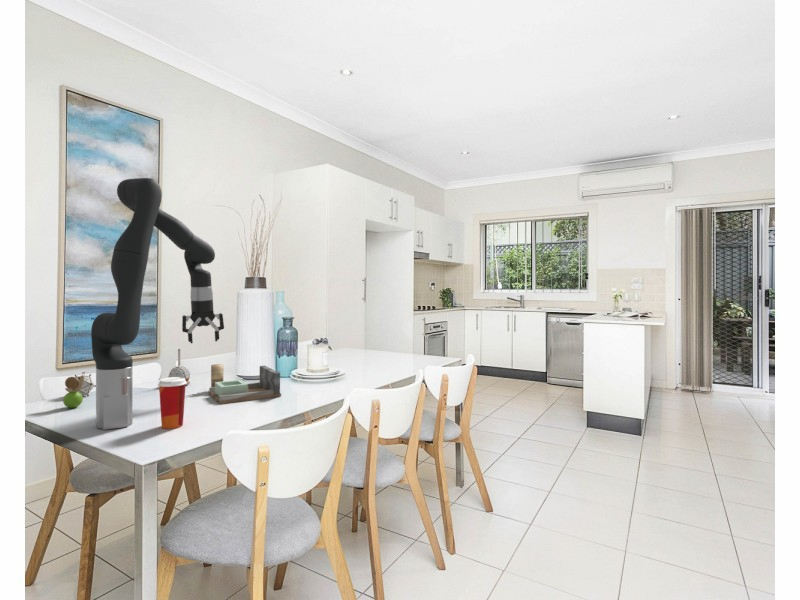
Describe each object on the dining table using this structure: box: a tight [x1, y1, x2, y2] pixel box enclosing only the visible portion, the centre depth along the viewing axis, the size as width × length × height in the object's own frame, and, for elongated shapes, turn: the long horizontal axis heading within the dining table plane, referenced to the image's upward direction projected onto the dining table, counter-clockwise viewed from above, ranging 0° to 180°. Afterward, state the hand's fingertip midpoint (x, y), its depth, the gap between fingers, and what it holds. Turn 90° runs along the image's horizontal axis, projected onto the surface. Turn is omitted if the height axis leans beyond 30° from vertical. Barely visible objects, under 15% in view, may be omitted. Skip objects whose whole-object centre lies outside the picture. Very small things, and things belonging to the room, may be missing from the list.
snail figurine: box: [62, 371, 86, 409], centre depth 154 cm, size 5×6×12 cm
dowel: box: [210, 363, 224, 387], centre depth 182 cm, size 4×4×10 cm
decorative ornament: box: [167, 348, 191, 386], centre depth 190 cm, size 8×8×15 cm
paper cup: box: [157, 377, 187, 430], centre depth 137 cm, size 8×8×14 cm
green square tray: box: [215, 379, 248, 396], centre depth 173 cm, size 10×10×4 cm
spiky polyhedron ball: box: [74, 373, 96, 397], centre depth 169 cm, size 9×8×10 cm
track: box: [208, 365, 282, 405], centre depth 175 cm, size 18×22×9 cm
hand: (204, 341), depth 172 cm, fingers open, 8 cm apart
